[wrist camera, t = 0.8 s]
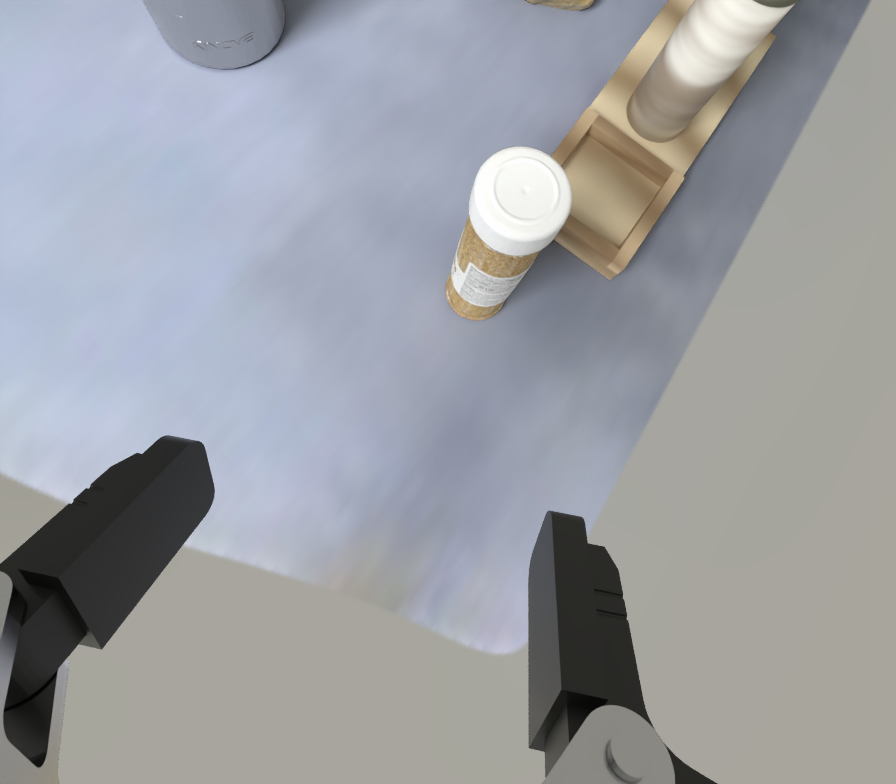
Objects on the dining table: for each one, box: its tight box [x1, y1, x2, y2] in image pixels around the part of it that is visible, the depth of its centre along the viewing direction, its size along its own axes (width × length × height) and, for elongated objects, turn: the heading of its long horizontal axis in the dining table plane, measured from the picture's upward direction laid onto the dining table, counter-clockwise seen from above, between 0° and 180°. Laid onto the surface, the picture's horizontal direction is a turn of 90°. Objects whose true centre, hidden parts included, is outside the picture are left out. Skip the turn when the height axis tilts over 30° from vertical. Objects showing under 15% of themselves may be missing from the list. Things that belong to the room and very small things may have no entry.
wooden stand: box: [551, 0, 800, 280], centre depth 30 cm, size 26×9×14 cm, turn 145°
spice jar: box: [446, 146, 572, 321], centre depth 27 cm, size 5×5×14 cm
